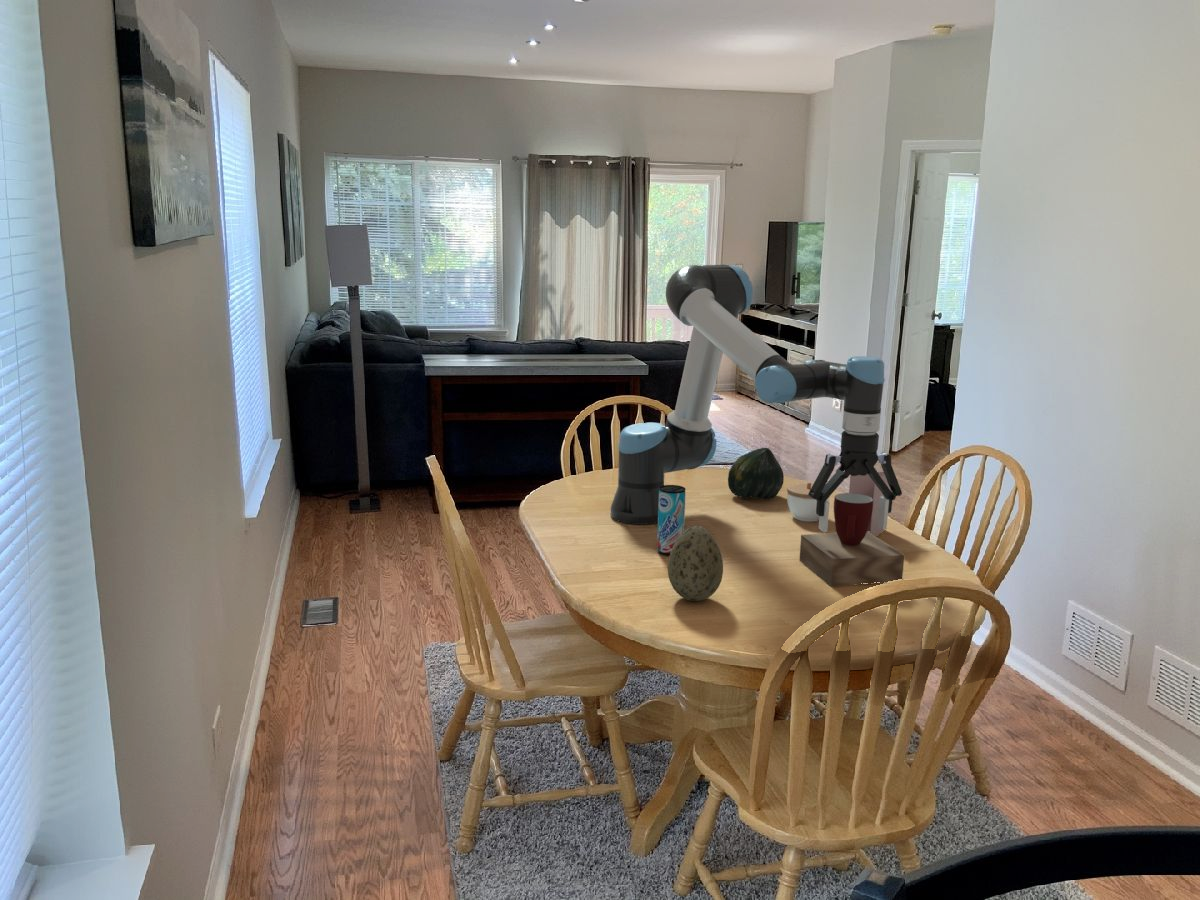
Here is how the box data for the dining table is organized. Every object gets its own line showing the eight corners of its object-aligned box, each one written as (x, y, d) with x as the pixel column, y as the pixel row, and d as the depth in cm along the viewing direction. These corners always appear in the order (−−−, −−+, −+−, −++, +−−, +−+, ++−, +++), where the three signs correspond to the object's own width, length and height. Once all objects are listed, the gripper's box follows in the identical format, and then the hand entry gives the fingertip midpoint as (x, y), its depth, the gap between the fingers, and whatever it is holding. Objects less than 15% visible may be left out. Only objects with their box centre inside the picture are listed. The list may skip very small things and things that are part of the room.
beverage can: (651, 551, 211) (653, 487, 208) (668, 546, 215) (671, 483, 212) (671, 558, 207) (673, 493, 204) (688, 552, 211) (691, 488, 208)
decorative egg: (701, 586, 191) (704, 515, 187) (732, 604, 182) (736, 530, 178) (656, 594, 186) (658, 522, 182) (686, 613, 177) (689, 538, 173)
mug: (873, 553, 194) (877, 507, 192) (833, 551, 195) (836, 505, 193) (867, 538, 204) (871, 494, 202) (829, 535, 205) (833, 492, 203)
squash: (713, 471, 262) (736, 440, 251) (758, 469, 268) (782, 438, 257) (731, 514, 254) (756, 483, 243) (776, 510, 261) (802, 480, 250)
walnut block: (830, 586, 192) (833, 559, 190) (799, 560, 207) (801, 534, 206) (901, 582, 195) (904, 555, 193) (865, 556, 210) (867, 531, 209)
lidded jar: (817, 527, 231) (820, 490, 229) (778, 518, 237) (780, 483, 235) (834, 517, 240) (837, 482, 237) (796, 509, 246) (799, 475, 244)
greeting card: (882, 529, 231) (887, 470, 227) (901, 537, 224) (907, 477, 221) (843, 533, 227) (848, 473, 223) (862, 542, 220) (867, 481, 216)
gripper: (812, 436, 188) (805, 537, 193) (924, 433, 193) (914, 531, 198) (797, 429, 195) (790, 526, 200) (905, 426, 200) (897, 520, 205)
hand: (852, 529), depth 199 cm, fingers open, 13 cm apart
